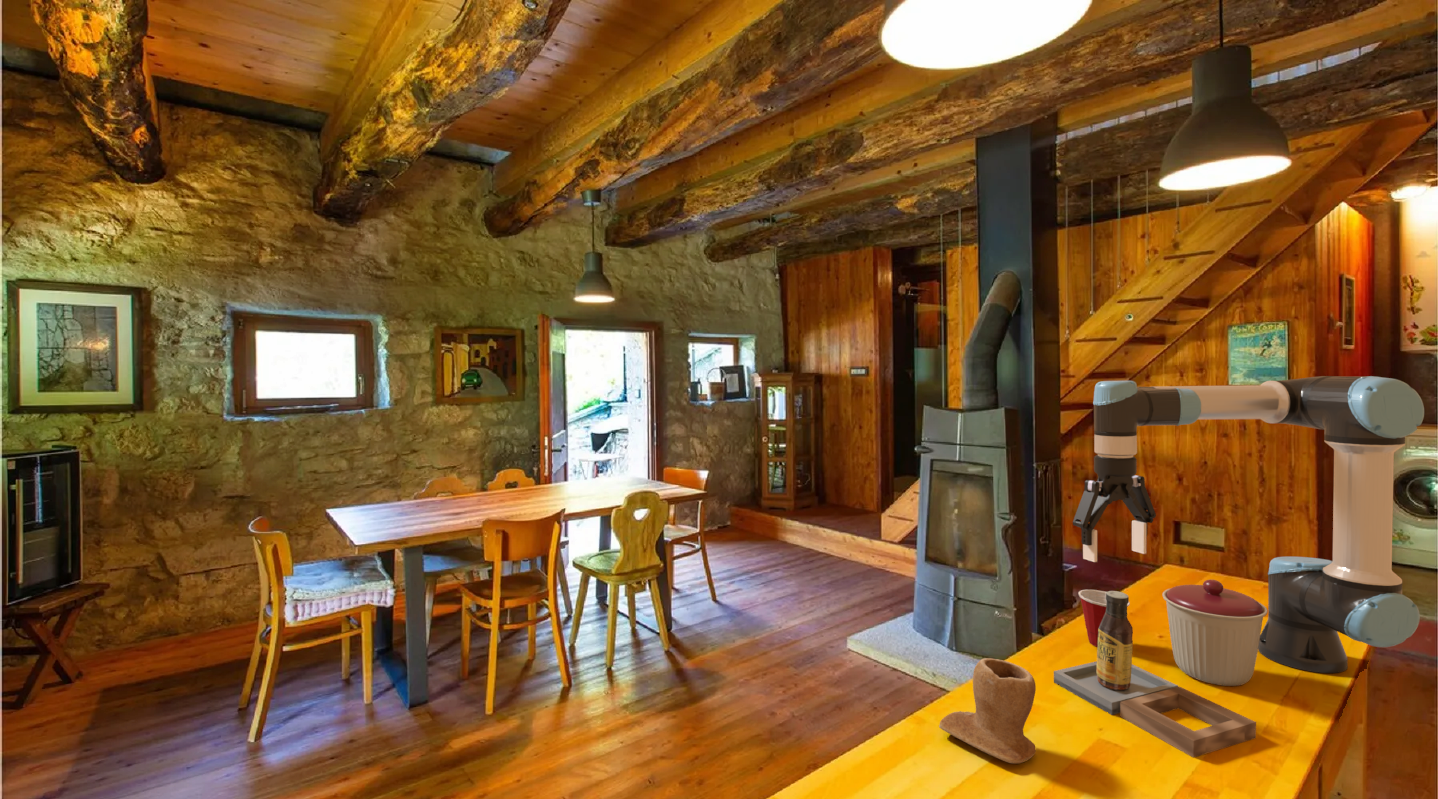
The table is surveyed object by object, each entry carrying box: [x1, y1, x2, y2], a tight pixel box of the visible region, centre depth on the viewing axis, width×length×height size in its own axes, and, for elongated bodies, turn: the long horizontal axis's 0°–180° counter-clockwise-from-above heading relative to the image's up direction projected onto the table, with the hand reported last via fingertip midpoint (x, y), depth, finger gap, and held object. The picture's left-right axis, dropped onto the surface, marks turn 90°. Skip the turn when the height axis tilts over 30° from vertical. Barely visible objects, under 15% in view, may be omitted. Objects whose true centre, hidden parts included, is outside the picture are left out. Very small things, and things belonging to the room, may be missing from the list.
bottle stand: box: [1119, 686, 1257, 758], centre depth 121 cm, size 16×14×3 cm
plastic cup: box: [1078, 589, 1130, 648], centre depth 156 cm, size 11×11×12 cm
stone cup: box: [938, 657, 1037, 764], centre depth 117 cm, size 15×12×15 cm
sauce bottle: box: [1096, 590, 1134, 690], centre depth 134 cm, size 6×6×20 cm
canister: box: [1162, 579, 1268, 687], centre depth 140 cm, size 18×18×21 cm
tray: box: [1053, 660, 1179, 716], centre depth 135 cm, size 18×14×2 cm
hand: (1114, 556), depth 134 cm, fingers open, 13 cm apart
